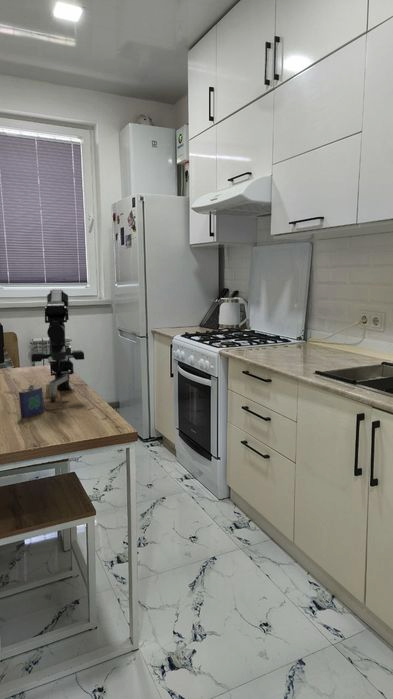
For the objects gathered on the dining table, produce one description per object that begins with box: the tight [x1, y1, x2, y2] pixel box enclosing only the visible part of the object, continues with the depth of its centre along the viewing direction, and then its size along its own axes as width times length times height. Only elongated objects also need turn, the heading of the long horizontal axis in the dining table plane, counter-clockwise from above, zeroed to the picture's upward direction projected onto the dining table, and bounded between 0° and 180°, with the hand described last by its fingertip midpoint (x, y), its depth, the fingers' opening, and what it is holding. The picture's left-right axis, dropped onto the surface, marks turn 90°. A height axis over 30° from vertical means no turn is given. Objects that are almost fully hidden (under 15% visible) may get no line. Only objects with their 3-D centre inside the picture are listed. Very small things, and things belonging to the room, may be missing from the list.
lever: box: [49, 374, 71, 402], centre depth 168 cm, size 15×2×7 cm, turn 173°
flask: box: [18, 384, 45, 420], centre depth 153 cm, size 9×3×11 cm, turn 152°
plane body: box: [42, 390, 63, 411], centre depth 169 cm, size 19×6×5 cm, turn 20°
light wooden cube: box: [44, 380, 58, 398], centre depth 171 cm, size 6×4×5 cm, turn 20°
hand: (58, 378), depth 171 cm, fingers closed
